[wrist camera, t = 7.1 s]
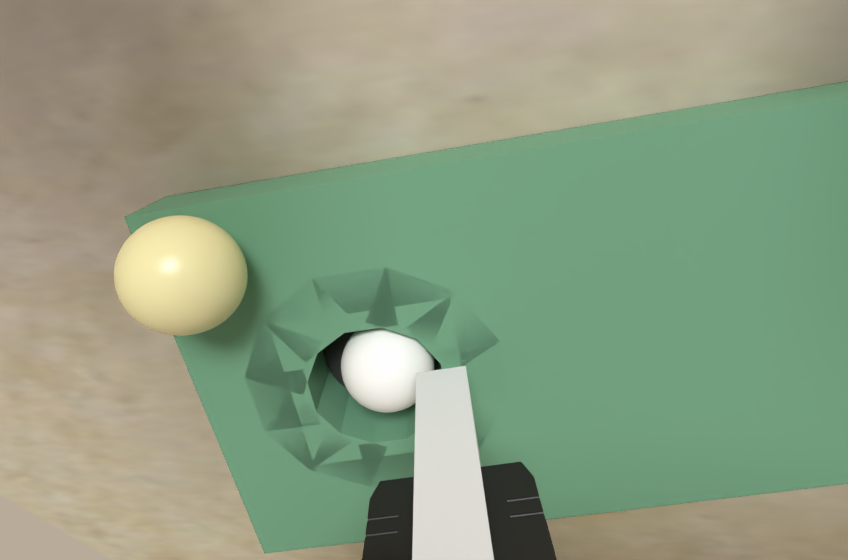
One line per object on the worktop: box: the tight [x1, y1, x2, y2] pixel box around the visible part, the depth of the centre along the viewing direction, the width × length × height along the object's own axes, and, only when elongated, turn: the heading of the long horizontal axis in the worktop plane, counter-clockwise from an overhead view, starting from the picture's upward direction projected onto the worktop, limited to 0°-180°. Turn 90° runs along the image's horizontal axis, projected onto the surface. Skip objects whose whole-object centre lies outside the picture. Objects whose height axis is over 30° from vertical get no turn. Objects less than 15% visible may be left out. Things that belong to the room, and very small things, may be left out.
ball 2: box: [341, 327, 434, 413], centre depth 17 cm, size 3×3×3 cm
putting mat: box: [124, 81, 848, 553], centre depth 17 cm, size 24×14×2 cm, turn 99°
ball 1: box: [114, 215, 248, 336], centre depth 13 cm, size 3×3×3 cm
